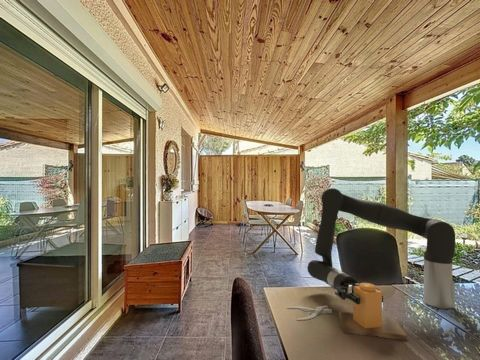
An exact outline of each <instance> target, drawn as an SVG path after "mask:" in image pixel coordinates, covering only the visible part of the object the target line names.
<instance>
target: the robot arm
mask: <svg viewBox="0 0 480 360" xmlns="http://www.w3.org/2000/svg"><path fill="white" fill-rule="evenodd" d="M320 199H321V201H320V202H321V219H320V224H319V228H318V231H317V236H316V241H315V248H314V252H315V254H316V255H318V256H320V257H321V258H322V260H316V259H312V260H310V261H309V262H308V263H307V272H308V274H309V275H310V277H312V278H314V279H316V280H318V281H322V282H323V283H325V284H327V285H328V286H329V287H331V288H332V289H333V291H334V294H335V295H336V296H337V297H338V298H340V299H341V300H344V301H345V300H346V299H347V300H348V301H351V302H353V303H356V304H360V298H359V297H358V296H356V295H355V294H354V286H360V283H358V282H357V280H356V278H355V277H354V276H351V275H349V274H347V273H346V272H344V271H341V270H339V269H337V268H336V267H333V259H332V258H333V257H332V252H333V246H334V245H333V244H334V239H335V230H336V224H337V219H338V214H339V212H343V213H346V214H350V215H352V216H355V217H357V218H359V219H362V220H364V221H366V222H370V223H373V224H375V225H379V226H381V227H384V228H385V227H386V228H388V229H393V230H394V229H395V230H400V231H405V232H409V233H412V234H414V235H417V236H420V237H422V238H424V239H426V249H425V251H424V252H423V302H424V303H425V304H426V305H428V306H431V307H433V308H438V309H441V310H442V309H444V310H450V309H455V307H456V299H455V298H456V283H454V282H453V259H454V257H455V253H456V252H455V251H456V232H455V229H454V227H453V226H452V225H451V223H448V222H446V221H444V220H440V219H433V218H427V217H424V216H418V215H416V214H412V213H409V212H407V211H406V210H405V211H404V210H402V209H399V208H397V207H394V206H391V205H389V204H386V203H382V202H377V201H372V200H368V199H361V198H355V197H351V196H349V195H346V194H343V193H342V192H341V191H340V190H339V189H338V188H335V187H332V188H331V187H330V188H327V189H326V190H324V191H323V192H322V194H321V198H320ZM376 289H377V290H379V291H380V289H379V288H377V287H376ZM382 303H384V295H382Z"/></svg>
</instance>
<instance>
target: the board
mask: <svg viewBox="0 0 480 360" xmlns="http://www.w3.org/2000/svg"><path fill="white" fill-rule="evenodd" d="M338 317H339V321H340V324H341V328H342V331H343V333H346V334H347V333H348V334H355V335H361V336H370V337H376V336H378V337H377V338H386V339H393V340H400V341H408V334H407V333H406V332H405V330H404V329H403V328H402V326H401V325H400V324H399V323H398V321H397V319H396V318H395V317H387V316H382V327H374V328H364V327H363V326H361V325H360V324H359V323H358V322H356V321H355V320H354V319H353V312H345V311H338Z"/></svg>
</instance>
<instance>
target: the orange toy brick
mask: <svg viewBox="0 0 480 360" xmlns="http://www.w3.org/2000/svg"><path fill="white" fill-rule="evenodd" d="M359 284H360V286H354V294H355V295H356V296H358V297H359V298H360V304H356V303H354V302H353V311H352V313H353V319H354V320H355V321H356V322H358V323H359V324H360V325H361V326H363V327H364V328H374V327H382V317H383V302H382V296H383V292H382V291H381V290H380V289H379V290H377V289H378V288H377V287H376V285H375V284H373V283H369V282H361V283H360V282H359ZM376 288H377V289H376Z"/></svg>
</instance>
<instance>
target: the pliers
mask: <svg viewBox="0 0 480 360" xmlns="http://www.w3.org/2000/svg"><path fill="white" fill-rule="evenodd" d="M286 309H288V310H293V309H294V310H301V311H304V312H307V316H305V317H299V318H296V321H308V320H311V319H314V318H316V317H317V316H318V315H320V314H322V315H323V314H325V315H326V314H332V313H333V309H332V308H329V305H319V306H316V307H315V308H311V307H306V306H300V305H299V306H296V305H295V306H293V305H292V306H286ZM311 312H313V313H311Z"/></svg>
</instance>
